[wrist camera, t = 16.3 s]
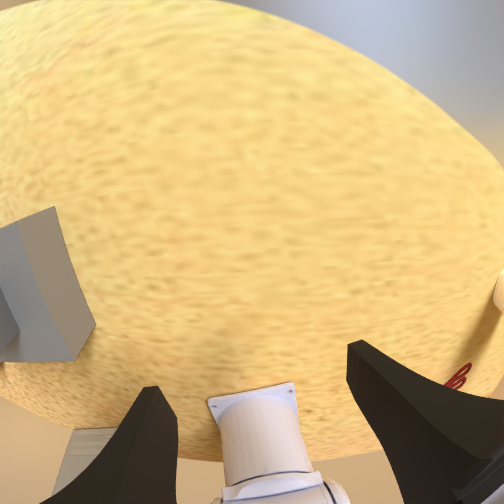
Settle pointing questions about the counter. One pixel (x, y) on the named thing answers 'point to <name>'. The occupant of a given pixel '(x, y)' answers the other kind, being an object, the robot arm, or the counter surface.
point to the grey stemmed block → (40, 294)
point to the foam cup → (499, 293)
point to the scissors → (454, 378)
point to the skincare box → (81, 453)
